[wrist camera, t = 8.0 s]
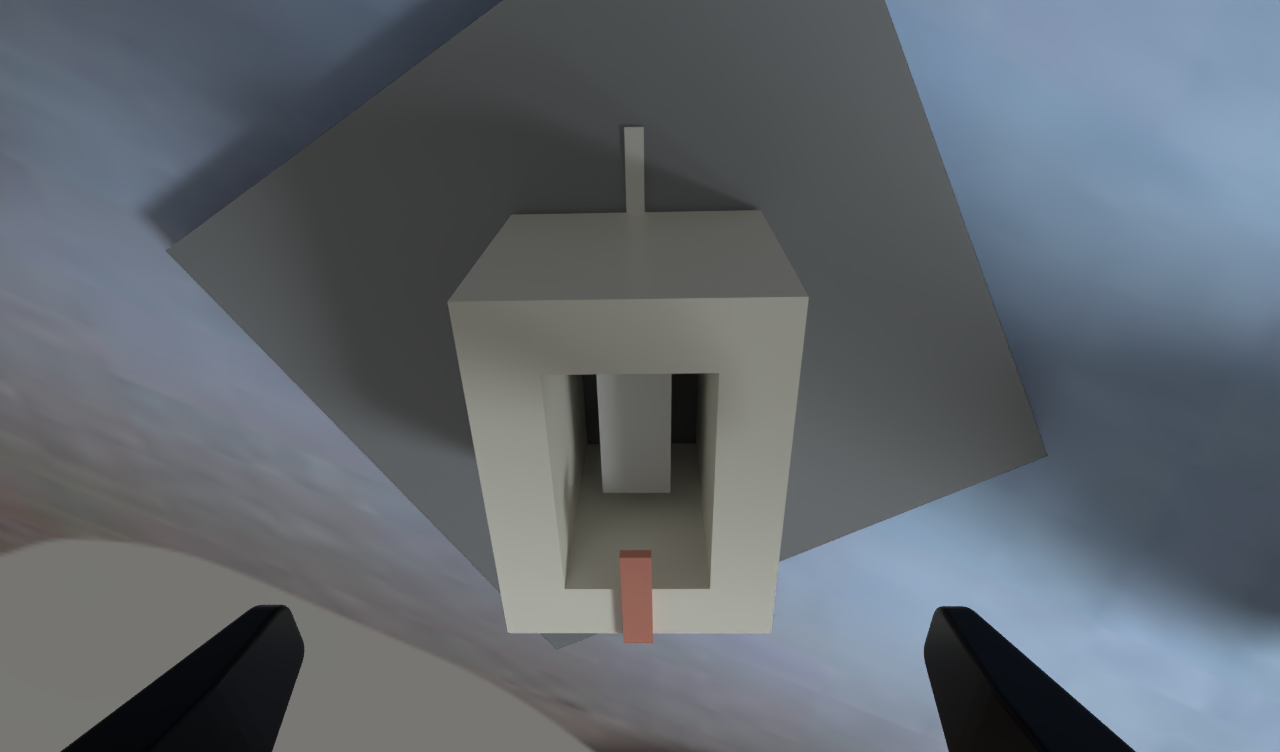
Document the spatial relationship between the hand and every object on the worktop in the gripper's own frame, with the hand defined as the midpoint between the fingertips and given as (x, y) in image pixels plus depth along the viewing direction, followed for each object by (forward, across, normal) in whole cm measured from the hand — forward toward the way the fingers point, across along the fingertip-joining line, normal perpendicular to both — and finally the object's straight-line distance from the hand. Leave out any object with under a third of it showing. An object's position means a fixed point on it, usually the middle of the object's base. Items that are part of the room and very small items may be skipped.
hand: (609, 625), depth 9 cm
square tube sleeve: (+8, 0, 0) cm, 8 cm away
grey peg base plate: (+9, 0, 0) cm, 9 cm away
